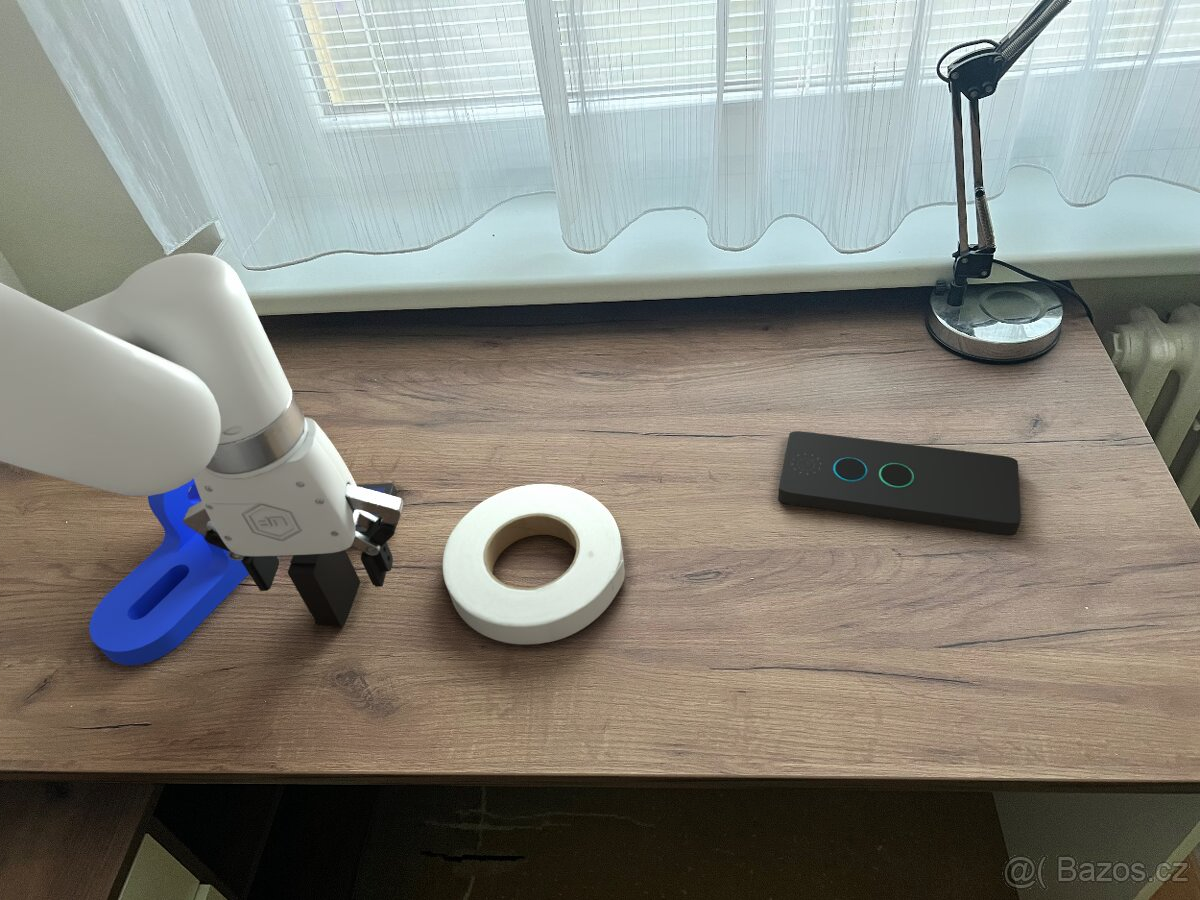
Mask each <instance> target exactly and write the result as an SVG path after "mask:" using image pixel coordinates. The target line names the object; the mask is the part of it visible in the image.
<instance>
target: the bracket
mask: <svg viewBox="0 0 1200 900" xmlns="http://www.w3.org/2000/svg"><path fill="white" fill-rule="evenodd" d="M147 501H148V505H149V508H150V510H151V512H152V513H153V515H154V516H155V518H156V519H157V521H158V522H159V523H160V524H161V527H162V528H163V530H164V537H163V540H162V541H161V543H160V545H158V547H157V548H156V549H154V551H152V552H151V553H150V554H149V555H148V556H147V557H146V558H145V559H144V560H143V561H142V562H140V563H139V564H138V565H137V566H136V567H135V568H134V569H133V570H132V571H130V573H129V574H127V576H126V577H124V578H123V579H122V580H121V581H120V582H119V583H118V584H117V585H116V586H114V587H113V588H111V590H110V591H109V592H108V593H107V594H106V595H104V597H103V598H102V599H101V600H100V601H99V603H98V604H97V606H96V607H95V608H94V611H93V612H92V615H91V618H90V622H89V636H90V639H91V640H92V642H93V643H94V644H95V645H96V646H97V648H98V649H100V651H101V652H102V653H103V654H104V656H106V657H107V659H109V660H110V661H111V662H113V663H115V664H119V665H124V666H139V665H144V664H147V663H151V662H153V661H155V660H159V659H161V658H162V657H164V656H166V655H168V654H169V653H171V652H173V650H175V649H176V648H177V647H179V646H180V645H181V644H182V643H183V642H184V641H185V640H186V639H187V638H188V637H189V636H190V635H191V634H192V633H193V632H194V631H195V630H196V629H197V628H198V627H199V626H200V625H201V624H202V622H204V621H205V619H207V618H208V617H209V615H211V613H213V612H214V610H215V609H217V607H218V606H219V605H220V604H222V602H223V601H224V600H225V599H226V598H227V597H228V596H229V595H230V594H231V593H232V592H233V591H234V590H235V589H236V588H237V587H238V586H239V585H240V584H241V583H242V582H243V581H244V580H245V579H246V578H247V577H248V576H249V575H250V574H249V573H248V571H247V570H246V568H245V566H244V565H243V563H242V562H241V561H235V560H232V559H231V558H230V557H229V556H228V553H229V551H226V550H224V549H222V548H219V547H217V546H215V545H212V544H210V543H208V542H207V541H206V540H205V536H204V535H203V534H201V535H200V534H199V533H197V532H196V531H194V530H193V529H191V528H190V527H188V526H187V525H185V524H184V523H183V519H184V517H185V515H186V513H187V511H188V509H189V508H190V507H191V506H193V505H195V504H197V503H199V502H201V501H202V500H201V498H200V496H199V493H198V490H197V487H196V484H195V481H194V478H193V479H192V480H191V481H190V482H188V483H186V484H184V485H183V486H181V487H179V488H177V489H174V490H171V491H169V492H166V493H162V494H157V495H151V496H147Z"/></svg>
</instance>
